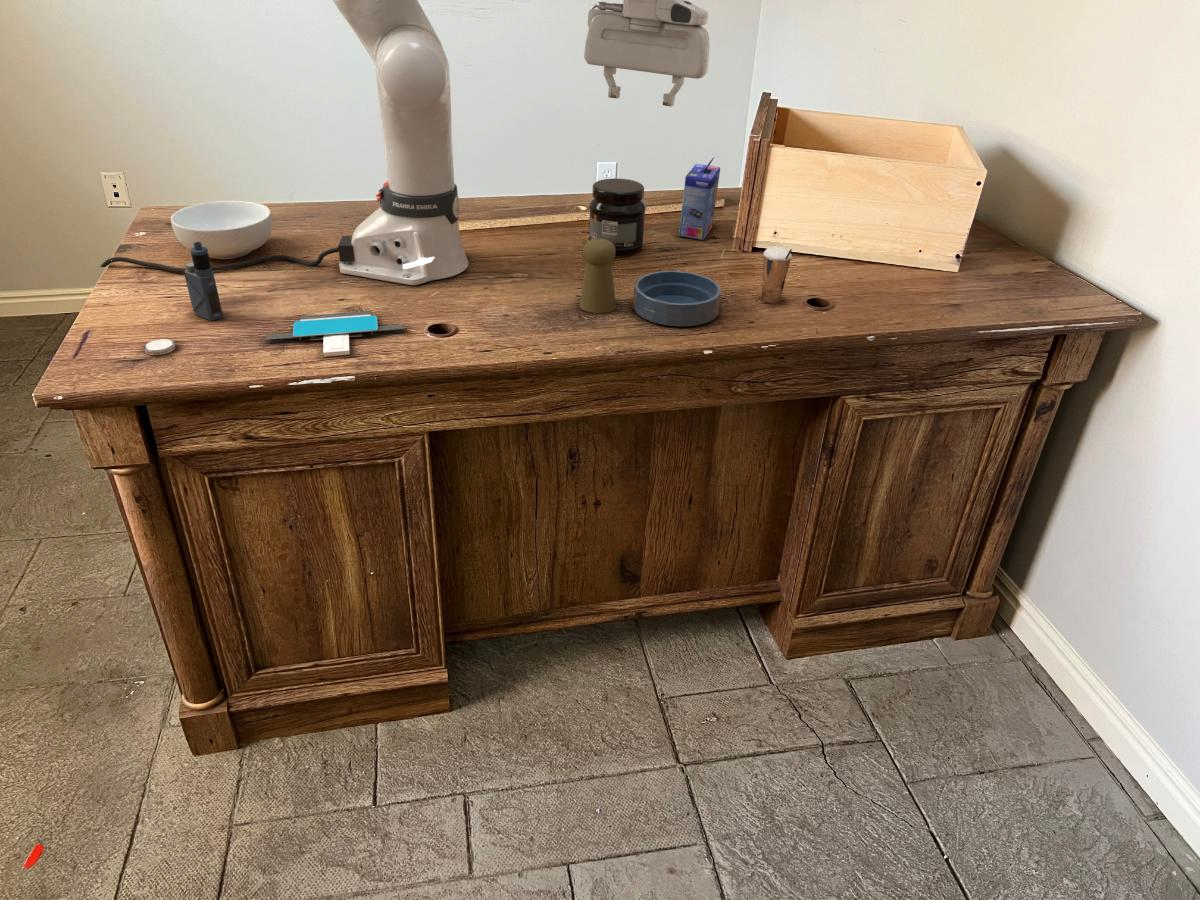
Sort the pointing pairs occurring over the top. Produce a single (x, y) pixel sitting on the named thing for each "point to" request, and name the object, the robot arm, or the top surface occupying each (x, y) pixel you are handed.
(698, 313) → the serving bowl
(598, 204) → the supplement container
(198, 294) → the vaping device
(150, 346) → the white bottle cap
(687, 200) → the ink cartridge box
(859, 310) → the top surface
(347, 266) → the robot arm
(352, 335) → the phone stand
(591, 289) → the olive peg figure
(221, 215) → the cereal bowl
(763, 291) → the milkshake
